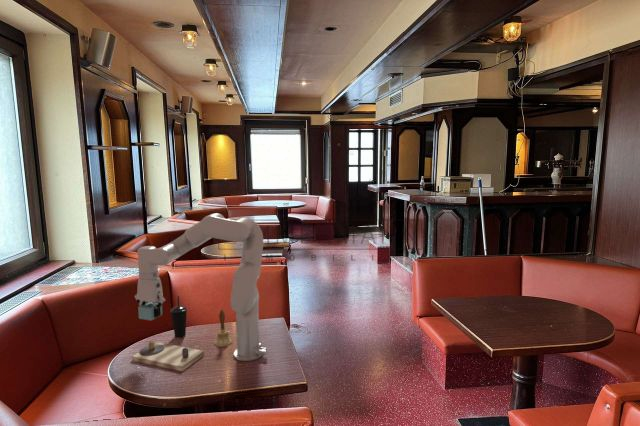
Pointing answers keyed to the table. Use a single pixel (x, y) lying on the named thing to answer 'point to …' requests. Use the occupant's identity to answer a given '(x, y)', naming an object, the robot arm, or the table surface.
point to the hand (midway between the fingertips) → (150, 315)
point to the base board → (168, 356)
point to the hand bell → (222, 333)
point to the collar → (147, 311)
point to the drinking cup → (179, 320)
